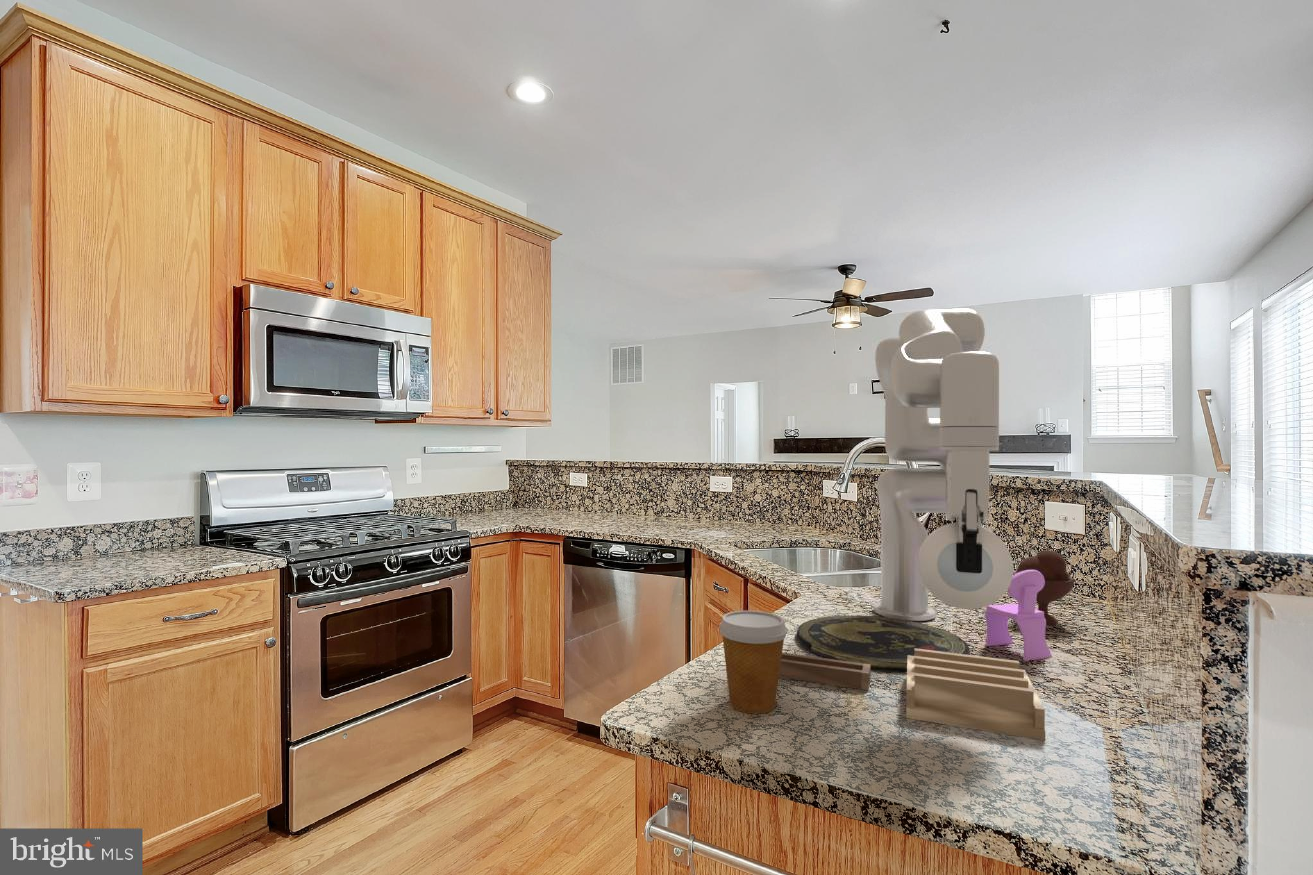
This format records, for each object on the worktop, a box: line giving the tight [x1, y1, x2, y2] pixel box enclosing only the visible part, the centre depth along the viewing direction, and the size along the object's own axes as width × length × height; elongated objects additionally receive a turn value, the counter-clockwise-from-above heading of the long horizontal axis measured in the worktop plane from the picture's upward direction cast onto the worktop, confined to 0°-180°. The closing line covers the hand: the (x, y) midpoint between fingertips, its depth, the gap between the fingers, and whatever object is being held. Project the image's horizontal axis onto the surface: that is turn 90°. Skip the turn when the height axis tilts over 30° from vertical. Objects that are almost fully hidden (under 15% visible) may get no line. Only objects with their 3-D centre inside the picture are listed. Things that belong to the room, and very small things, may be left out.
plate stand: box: [779, 652, 871, 691], centre depth 98 cm, size 4×15×2 cm, turn 68°
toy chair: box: [984, 570, 1053, 661], centre depth 112 cm, size 8×9×15 cm
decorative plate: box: [795, 614, 971, 674], centre depth 115 cm, size 30×2×30 cm
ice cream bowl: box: [1013, 549, 1076, 626], centre depth 131 cm, size 11×11×15 cm
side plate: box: [918, 521, 1014, 610], centre depth 88 cm, size 2×12×12 cm
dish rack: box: [905, 648, 1046, 741], centre depth 88 cm, size 16×16×5 cm
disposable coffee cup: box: [718, 610, 789, 715], centre depth 87 cm, size 10×10×12 cm
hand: (968, 569), depth 88 cm, fingers closed on side plate, 1 cm apart
